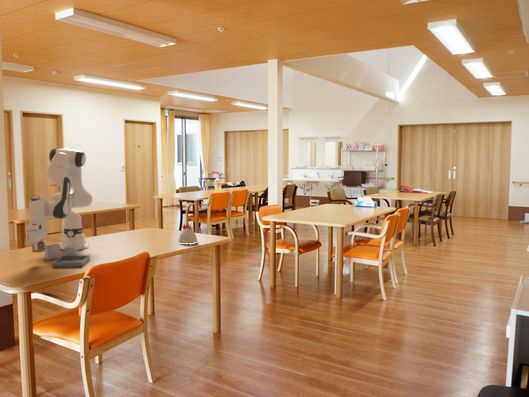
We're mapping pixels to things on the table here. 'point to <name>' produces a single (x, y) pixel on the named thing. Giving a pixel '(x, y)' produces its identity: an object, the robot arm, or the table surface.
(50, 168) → the robot arm
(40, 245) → the walnut block
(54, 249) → the medicine box
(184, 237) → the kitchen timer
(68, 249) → the grey block
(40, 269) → the table surface
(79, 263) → the tray
